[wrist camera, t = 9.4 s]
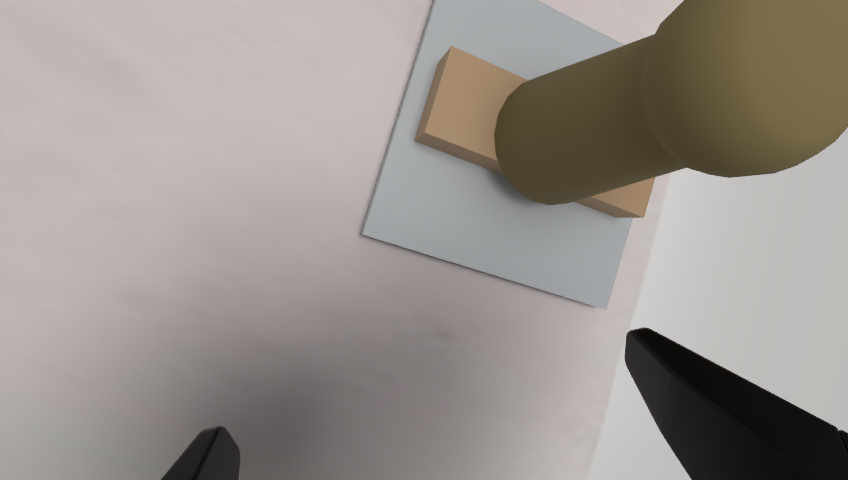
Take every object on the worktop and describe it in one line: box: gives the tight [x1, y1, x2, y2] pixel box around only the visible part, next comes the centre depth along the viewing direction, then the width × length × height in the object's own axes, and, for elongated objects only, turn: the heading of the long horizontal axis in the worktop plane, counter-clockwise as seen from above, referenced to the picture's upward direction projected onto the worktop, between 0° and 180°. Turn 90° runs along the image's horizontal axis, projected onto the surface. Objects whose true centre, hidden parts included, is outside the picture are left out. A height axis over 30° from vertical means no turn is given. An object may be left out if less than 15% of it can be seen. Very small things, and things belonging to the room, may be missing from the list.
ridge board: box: [360, 0, 655, 310], centre depth 22 cm, size 14×14×3 cm
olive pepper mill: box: [494, 0, 848, 205], centre depth 15 cm, size 6×6×11 cm
